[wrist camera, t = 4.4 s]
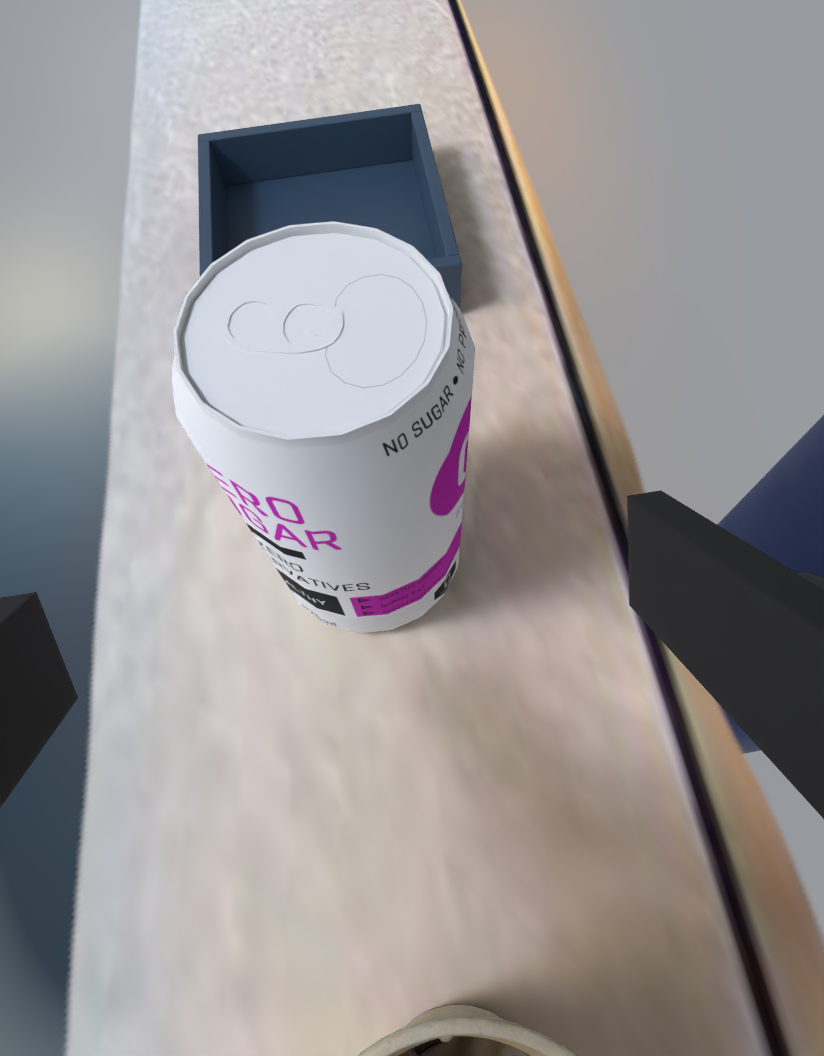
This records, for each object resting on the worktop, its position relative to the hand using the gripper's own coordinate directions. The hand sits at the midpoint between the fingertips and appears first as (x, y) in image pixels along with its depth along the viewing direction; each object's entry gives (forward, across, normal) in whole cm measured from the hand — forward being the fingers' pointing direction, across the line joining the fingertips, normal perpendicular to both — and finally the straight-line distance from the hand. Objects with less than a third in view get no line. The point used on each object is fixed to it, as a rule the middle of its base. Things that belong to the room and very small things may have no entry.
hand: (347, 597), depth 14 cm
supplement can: (+14, 0, -5) cm, 15 cm away
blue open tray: (+29, 0, +9) cm, 30 cm away
